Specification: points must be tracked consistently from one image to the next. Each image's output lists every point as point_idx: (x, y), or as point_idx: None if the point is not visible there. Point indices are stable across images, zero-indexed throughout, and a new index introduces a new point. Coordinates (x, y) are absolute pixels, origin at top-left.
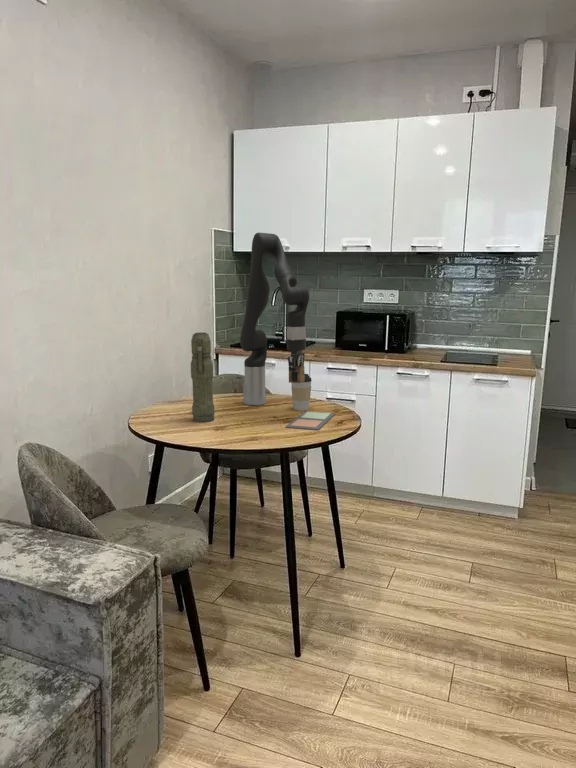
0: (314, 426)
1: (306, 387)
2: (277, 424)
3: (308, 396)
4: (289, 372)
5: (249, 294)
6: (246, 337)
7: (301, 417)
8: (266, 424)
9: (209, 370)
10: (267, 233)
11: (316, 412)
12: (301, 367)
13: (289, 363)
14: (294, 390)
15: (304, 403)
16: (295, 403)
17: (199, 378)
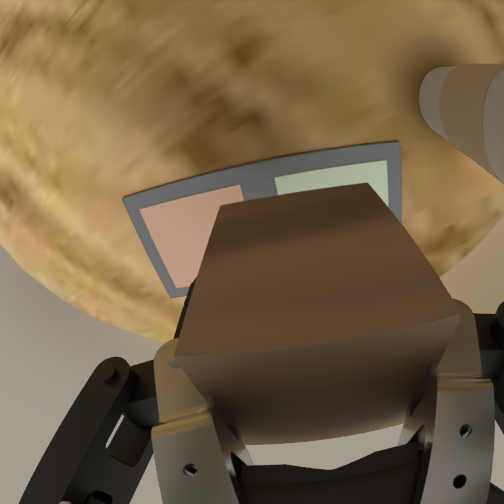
0: (180, 282)
1: (497, 174)
2: (140, 141)
3: (473, 160)
4: (200, 295)
5: None
6: None
7: (275, 182)
8: (115, 105)
9: None
10: None
11: (386, 201)
12: (294, 441)
13: (57, 457)
14: (473, 92)
15: (443, 133)
16: (435, 86)
17: None
